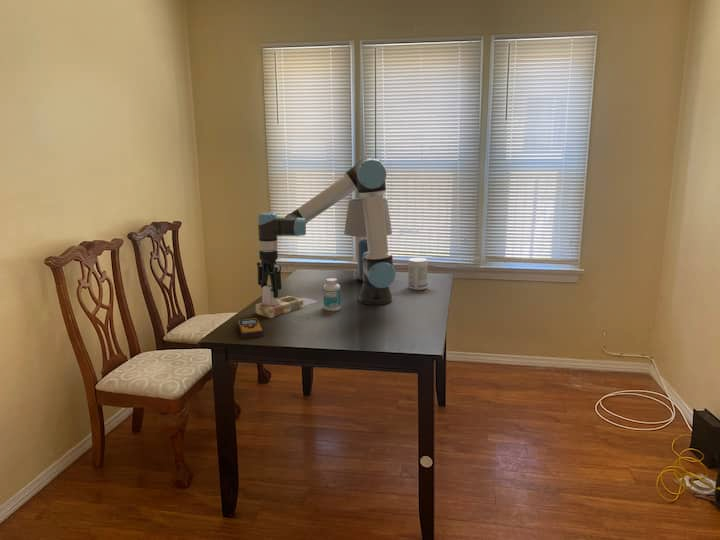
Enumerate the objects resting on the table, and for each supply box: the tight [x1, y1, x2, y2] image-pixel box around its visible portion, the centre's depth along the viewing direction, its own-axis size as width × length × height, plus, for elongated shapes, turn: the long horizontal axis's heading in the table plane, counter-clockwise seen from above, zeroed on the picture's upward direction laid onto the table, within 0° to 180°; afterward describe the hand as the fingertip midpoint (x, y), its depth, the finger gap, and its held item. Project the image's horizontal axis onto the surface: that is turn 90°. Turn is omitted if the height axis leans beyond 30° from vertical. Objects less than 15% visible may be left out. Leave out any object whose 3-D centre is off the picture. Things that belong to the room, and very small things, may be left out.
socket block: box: [255, 295, 304, 319], centre depth 224 cm, size 10×18×4 cm, turn 137°
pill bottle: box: [322, 277, 342, 312], centre depth 225 cm, size 8×7×14 cm
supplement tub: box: [407, 257, 428, 291], centre depth 260 cm, size 10×10×15 cm
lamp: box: [343, 197, 393, 282], centre depth 274 cm, size 25×25×43 cm
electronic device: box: [237, 317, 264, 339], centre depth 200 cm, size 8×16×3 cm, turn 19°
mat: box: [300, 297, 319, 307], centre depth 237 cm, size 10×10×1 cm
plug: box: [264, 283, 278, 307], centre depth 220 cm, size 4×4×13 cm
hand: (270, 303), depth 221 cm, fingers open, 6 cm apart
